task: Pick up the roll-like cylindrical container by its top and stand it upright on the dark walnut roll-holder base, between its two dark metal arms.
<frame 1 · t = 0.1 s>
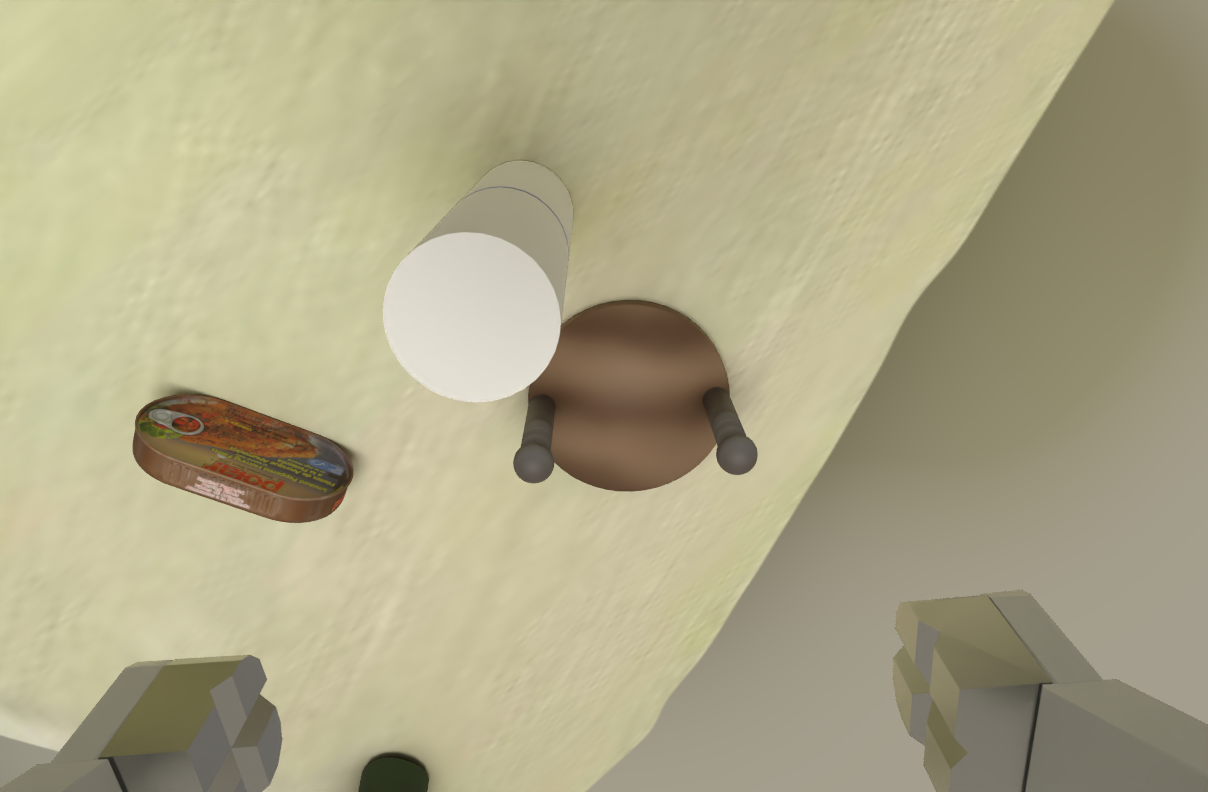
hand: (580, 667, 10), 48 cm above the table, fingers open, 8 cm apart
roll holder: (628, 395, 60), on the table
tin: (268, 432, 61), on the table
cylindrical container: (522, 213, 55), on the table
character mug: (397, 773, 75), on the table
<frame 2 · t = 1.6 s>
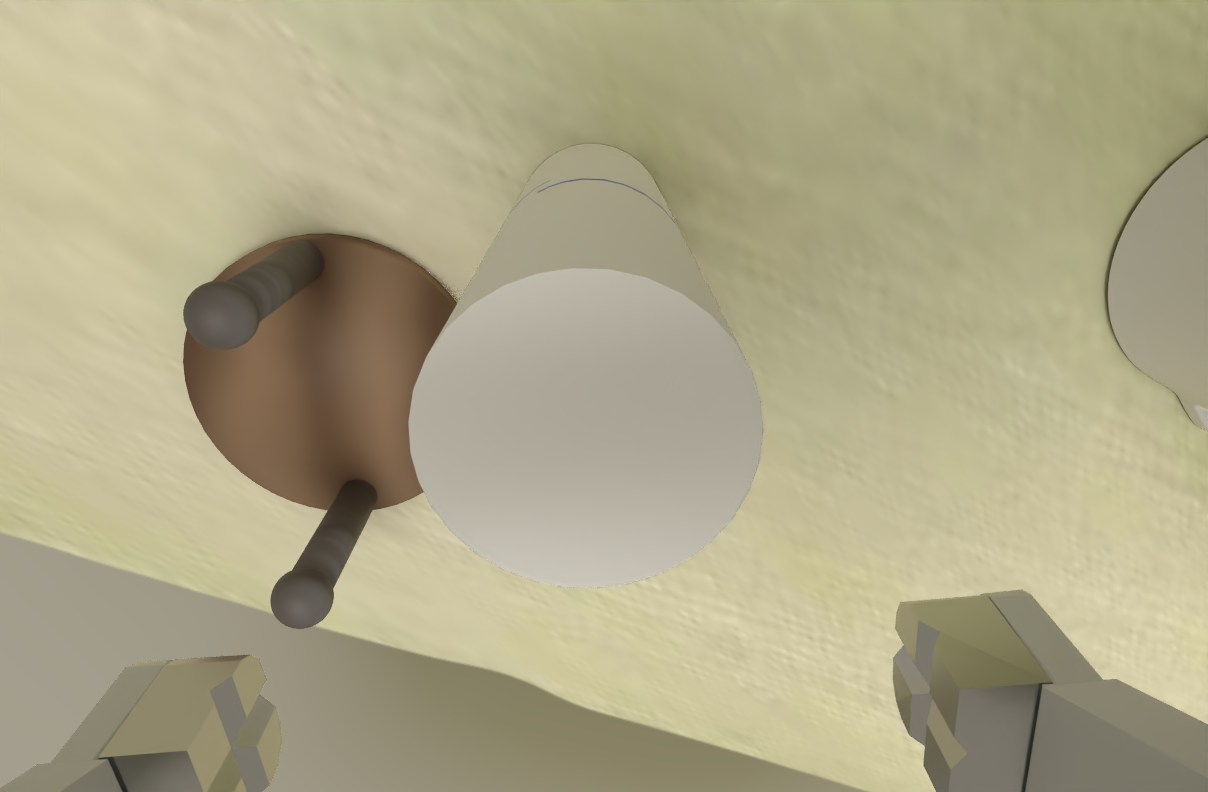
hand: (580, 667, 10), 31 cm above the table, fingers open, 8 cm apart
roll holder: (341, 374, 42), on the table
cylindrical container: (591, 218, 39), on the table
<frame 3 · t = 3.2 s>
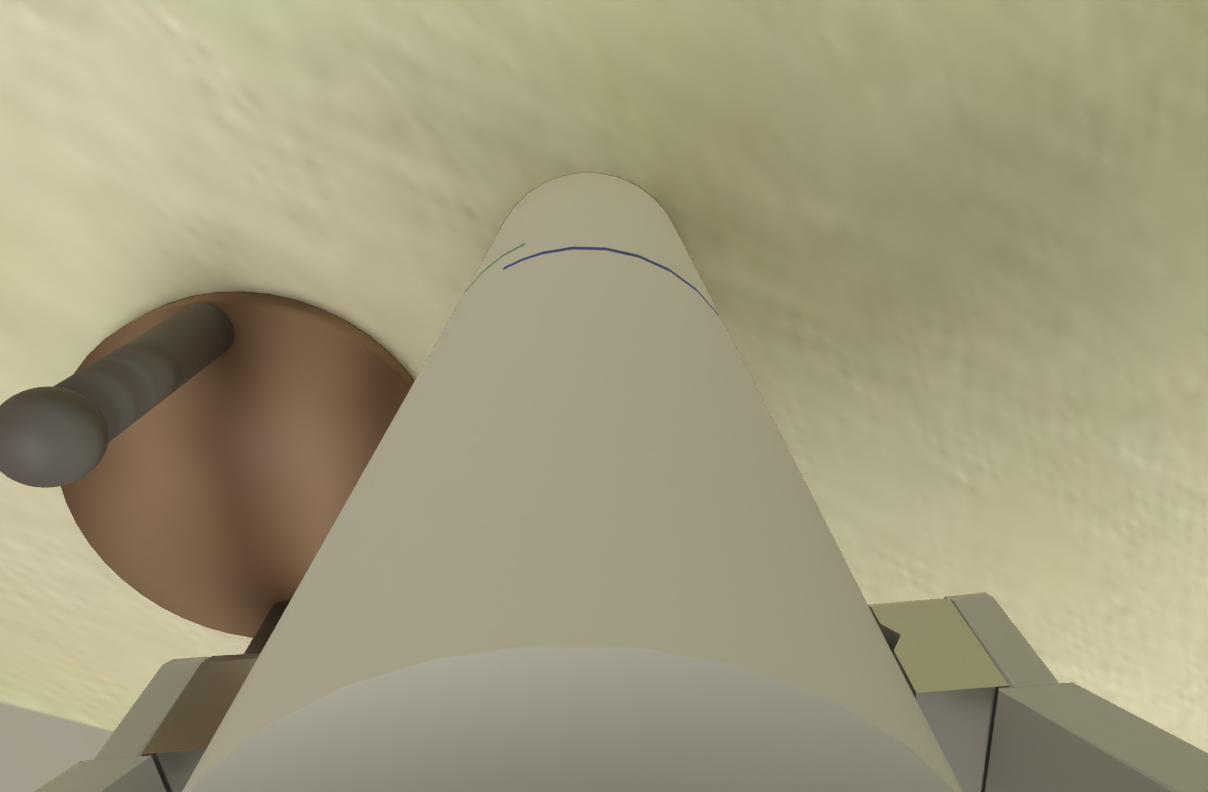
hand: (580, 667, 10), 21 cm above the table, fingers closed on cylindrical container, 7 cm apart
roll holder: (266, 468, 33), on the table
cylindrical container: (588, 269, 30), on the table, touching gripper
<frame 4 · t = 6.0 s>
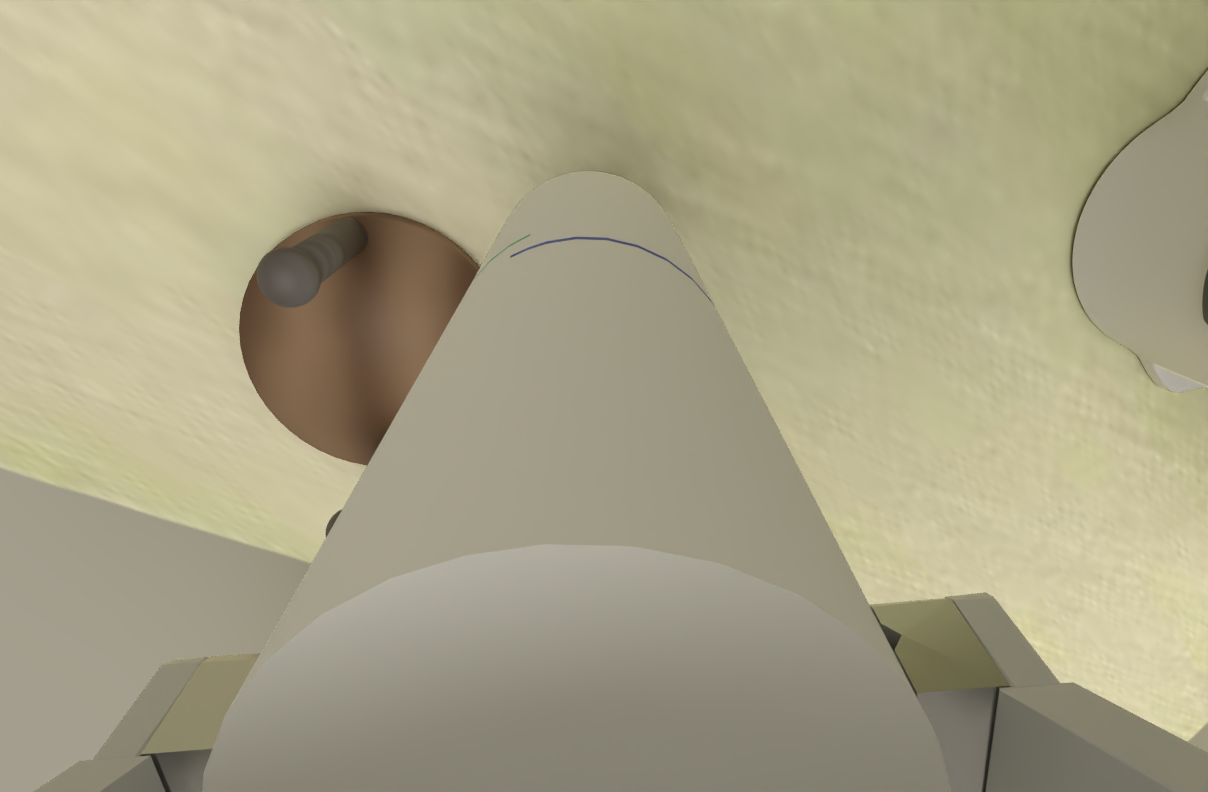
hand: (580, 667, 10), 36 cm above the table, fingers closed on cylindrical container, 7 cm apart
roll holder: (380, 341, 46), on the table
cylindrical container: (589, 264, 31), point 14 cm above the table, touching gripper
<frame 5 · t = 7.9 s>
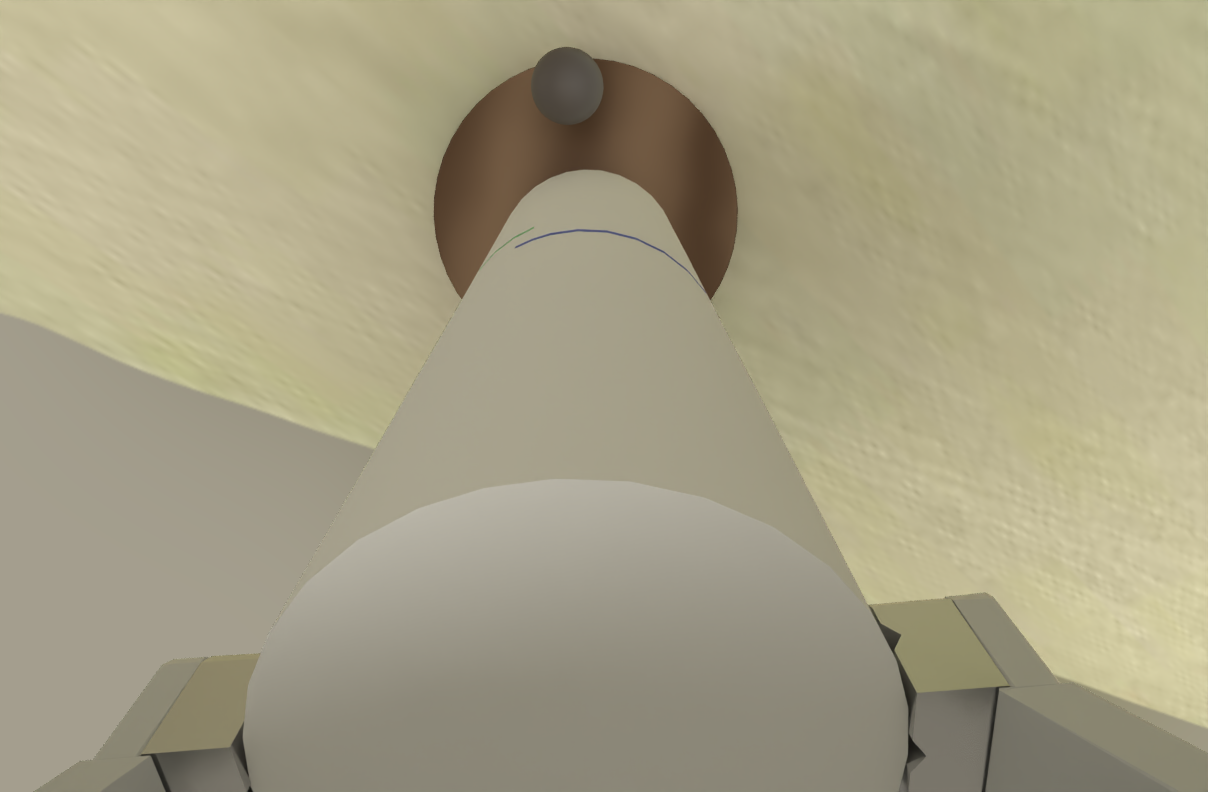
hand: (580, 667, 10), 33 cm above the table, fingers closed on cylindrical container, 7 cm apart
roll holder: (586, 217, 41), on the table
cylindrical container: (588, 260, 32), point 9 cm above the table, touching gripper
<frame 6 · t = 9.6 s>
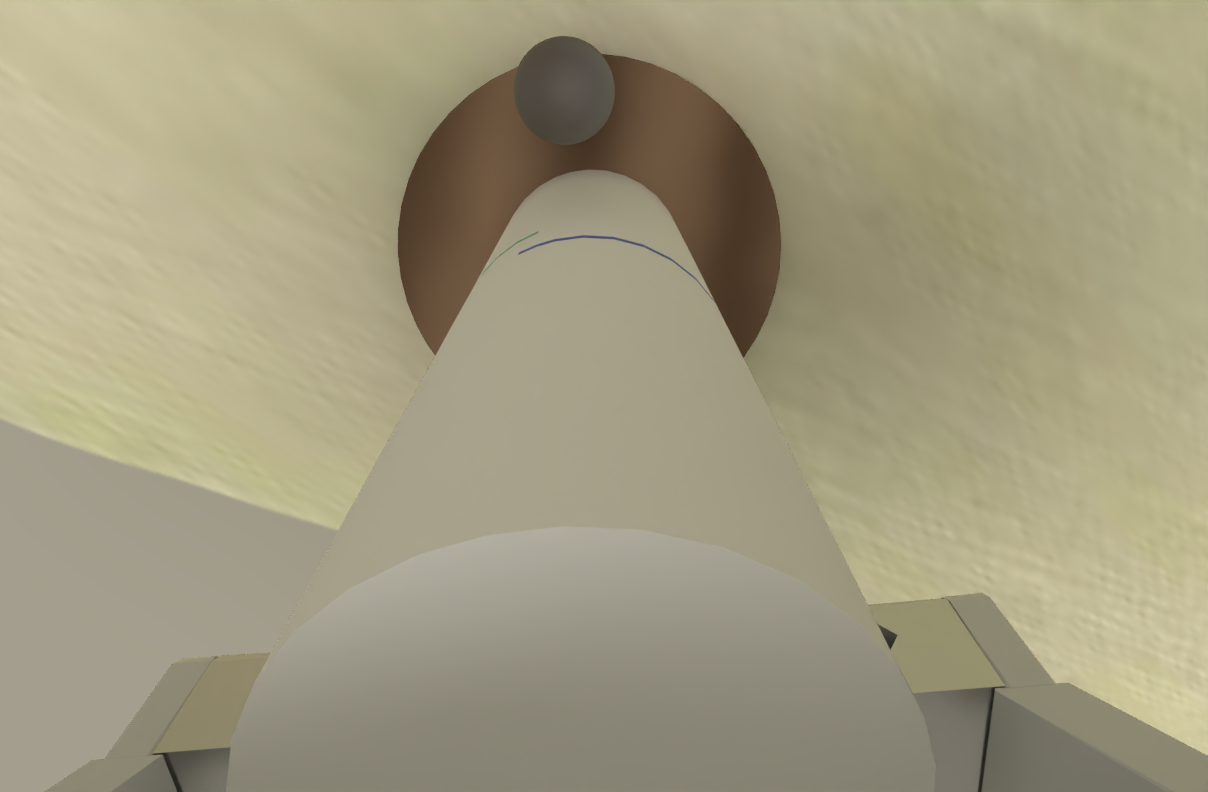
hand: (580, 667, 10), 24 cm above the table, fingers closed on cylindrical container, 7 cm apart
roll holder: (590, 252, 33), on the table
cylindrical container: (592, 262, 31), point 1 cm above the table, touching gripper, roll holder
when the fingers open (24 cm above the table, at t = 10.0 s): cylindrical container stays where it is, resting on roll holder.
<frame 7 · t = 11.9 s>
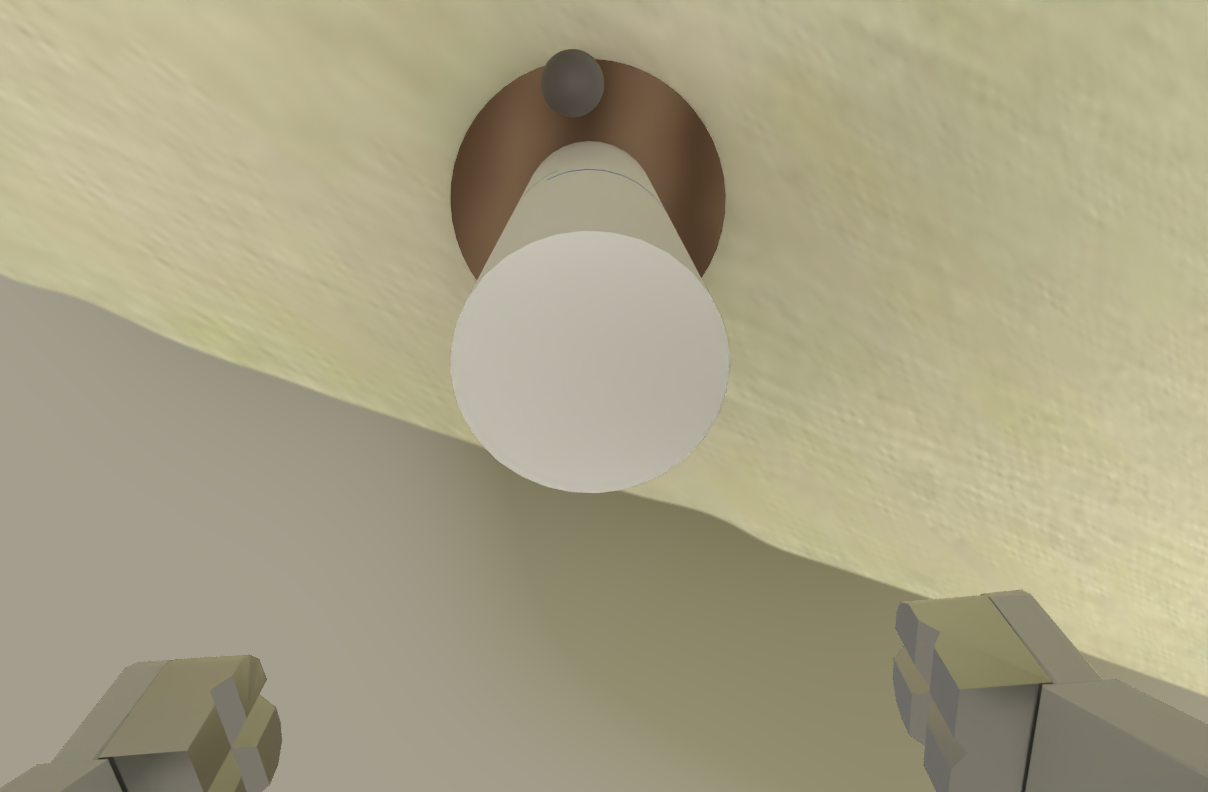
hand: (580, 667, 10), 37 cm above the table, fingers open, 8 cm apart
roll holder: (588, 203, 45), on the table
cylindrical container: (590, 208, 44), point 1 cm above the table, touching roll holder
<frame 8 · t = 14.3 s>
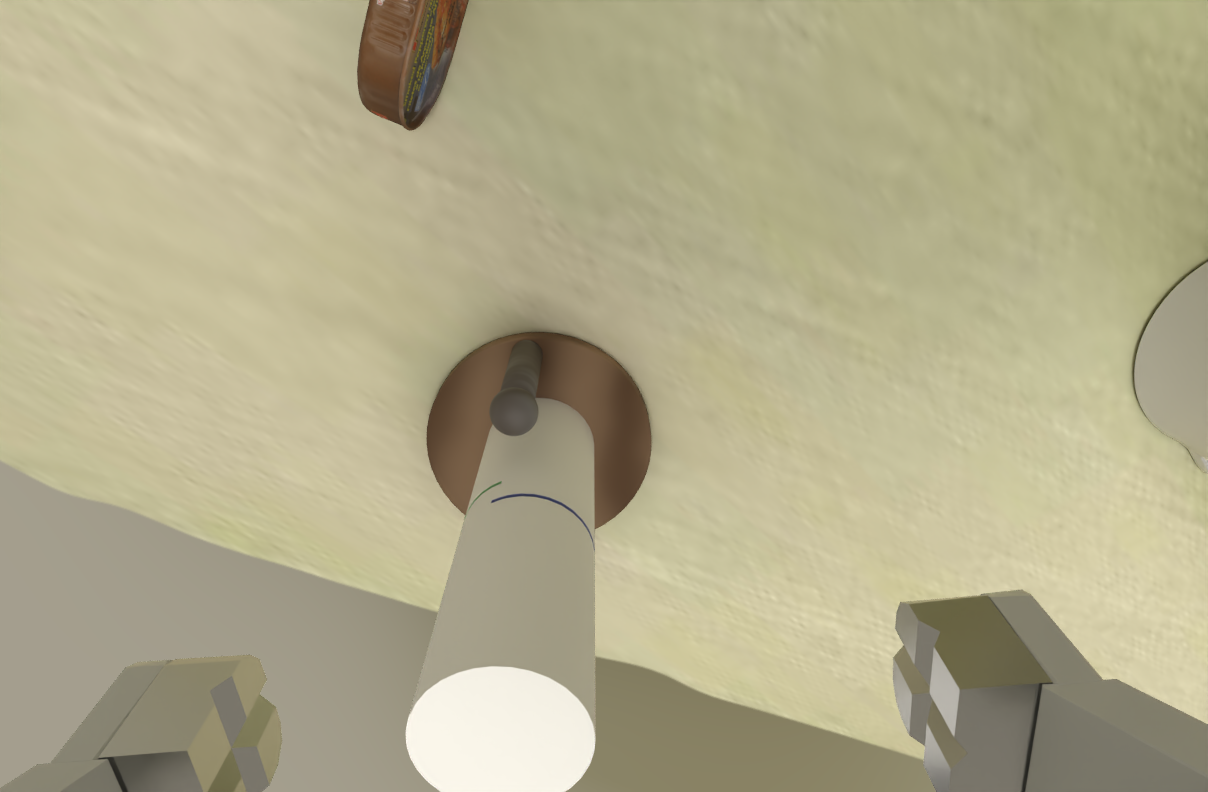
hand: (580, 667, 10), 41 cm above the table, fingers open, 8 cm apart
roll holder: (540, 436, 54), on the table
cylindrical container: (541, 445, 53), point 1 cm above the table, touching roll holder
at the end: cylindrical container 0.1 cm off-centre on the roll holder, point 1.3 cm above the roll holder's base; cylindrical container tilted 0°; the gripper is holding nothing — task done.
